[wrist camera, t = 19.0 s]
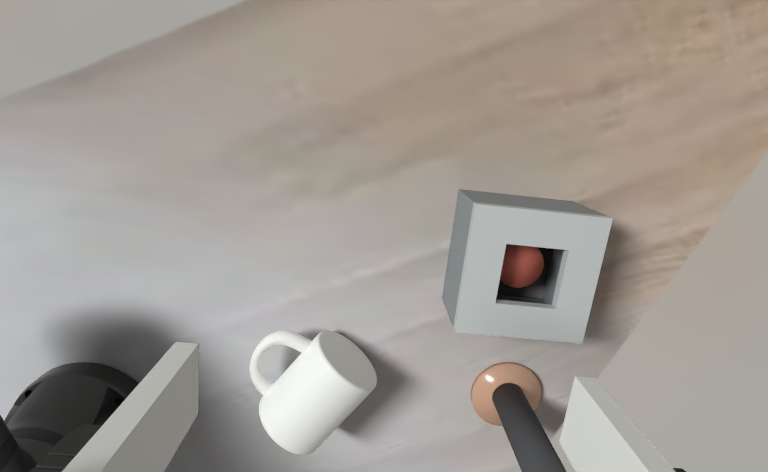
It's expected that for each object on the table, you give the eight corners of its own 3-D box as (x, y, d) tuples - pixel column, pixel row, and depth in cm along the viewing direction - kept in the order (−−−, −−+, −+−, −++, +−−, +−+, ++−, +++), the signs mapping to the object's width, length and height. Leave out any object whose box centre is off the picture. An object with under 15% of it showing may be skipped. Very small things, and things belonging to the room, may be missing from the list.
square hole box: (442, 298, 49) (455, 332, 41) (458, 189, 46) (476, 204, 38) (549, 308, 50) (582, 343, 42) (573, 201, 46) (613, 218, 39)
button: (485, 274, 47) (492, 285, 44) (492, 232, 45) (500, 240, 42) (528, 279, 47) (538, 289, 44) (537, 236, 46) (548, 244, 43)
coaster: (466, 419, 53) (467, 423, 52) (477, 359, 51) (478, 362, 50) (532, 425, 53) (534, 428, 53) (545, 365, 51) (547, 368, 51)
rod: (489, 408, 52) (534, 521, 38) (495, 381, 51) (543, 486, 37) (520, 411, 52) (576, 524, 38) (526, 384, 51) (586, 489, 37)
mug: (377, 360, 51) (378, 403, 43) (322, 418, 53) (313, 470, 45) (293, 296, 49) (278, 330, 41) (238, 359, 50) (214, 403, 43)
